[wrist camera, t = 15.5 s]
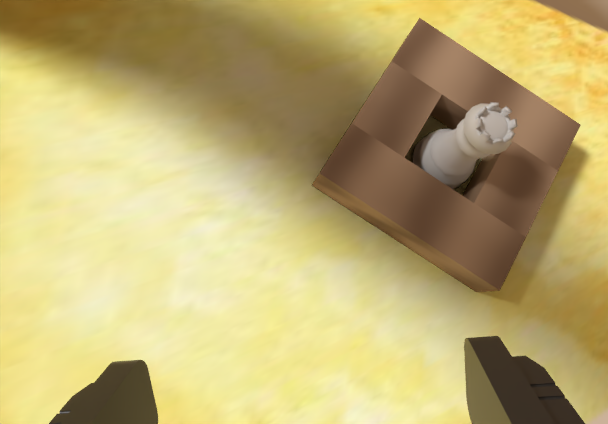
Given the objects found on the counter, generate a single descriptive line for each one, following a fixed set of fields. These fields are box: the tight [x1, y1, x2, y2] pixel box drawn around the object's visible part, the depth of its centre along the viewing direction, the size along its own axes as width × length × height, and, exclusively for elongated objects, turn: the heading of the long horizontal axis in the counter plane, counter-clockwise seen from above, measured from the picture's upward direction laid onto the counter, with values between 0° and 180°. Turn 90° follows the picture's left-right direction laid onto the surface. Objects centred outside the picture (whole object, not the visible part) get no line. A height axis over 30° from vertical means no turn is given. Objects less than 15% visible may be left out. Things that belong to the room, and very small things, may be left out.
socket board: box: [312, 18, 580, 292], centre depth 34 cm, size 14×14×3 cm
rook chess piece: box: [413, 102, 518, 189], centre depth 32 cm, size 4×4×8 cm
